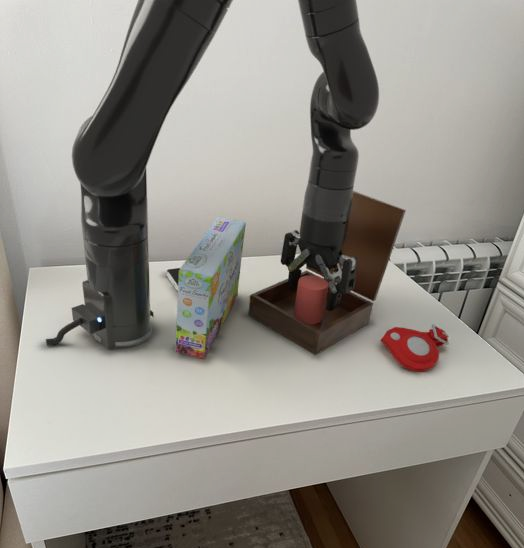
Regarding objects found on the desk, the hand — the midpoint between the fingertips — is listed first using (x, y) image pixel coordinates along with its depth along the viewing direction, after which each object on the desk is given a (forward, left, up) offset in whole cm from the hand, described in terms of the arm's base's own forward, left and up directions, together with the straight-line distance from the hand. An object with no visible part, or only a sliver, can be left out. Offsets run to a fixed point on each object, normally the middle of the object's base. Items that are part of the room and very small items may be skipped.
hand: (312, 299), depth 94 cm
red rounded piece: (+7, -19, -5) cm, 20 cm away
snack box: (-15, +10, -4) cm, 18 cm away
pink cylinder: (0, 0, -4) cm, 4 cm away
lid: (+9, 0, +8) cm, 13 cm away
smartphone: (-9, +20, -5) cm, 22 cm away
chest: (0, 0, -4) cm, 4 cm away
